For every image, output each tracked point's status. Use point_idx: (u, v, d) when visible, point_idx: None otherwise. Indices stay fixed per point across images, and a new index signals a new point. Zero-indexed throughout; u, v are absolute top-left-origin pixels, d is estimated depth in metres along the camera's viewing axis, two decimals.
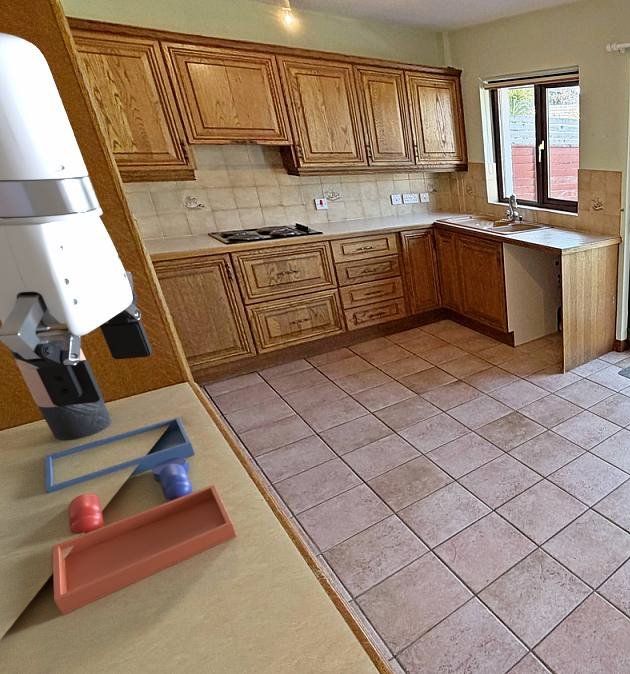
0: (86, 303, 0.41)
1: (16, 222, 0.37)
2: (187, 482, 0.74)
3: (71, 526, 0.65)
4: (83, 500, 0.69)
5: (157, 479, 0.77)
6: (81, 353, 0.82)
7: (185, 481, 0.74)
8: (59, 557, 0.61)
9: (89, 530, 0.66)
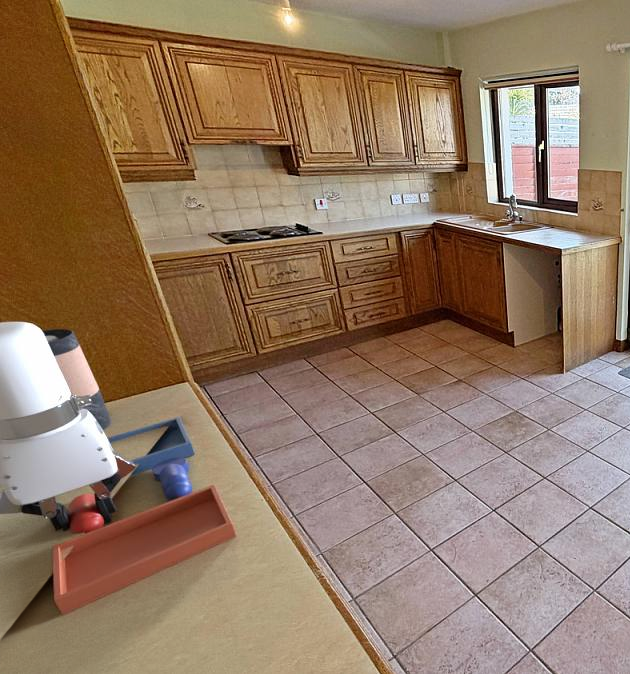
0: (27, 488, 0.61)
1: None
2: (187, 482, 0.74)
3: (71, 526, 0.65)
4: (83, 500, 0.69)
5: (157, 479, 0.77)
6: (81, 353, 0.82)
7: (185, 481, 0.74)
8: (59, 557, 0.61)
9: (89, 530, 0.66)
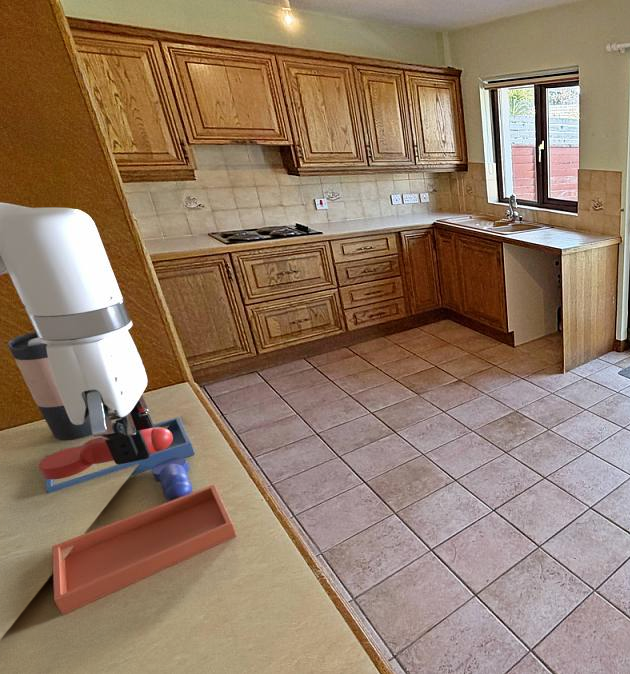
0: (127, 392, 0.56)
1: (80, 341, 0.52)
2: (187, 482, 0.74)
3: (153, 438, 0.60)
4: None
5: (157, 479, 0.77)
6: None
7: (185, 481, 0.74)
8: (59, 557, 0.61)
9: (171, 434, 0.62)
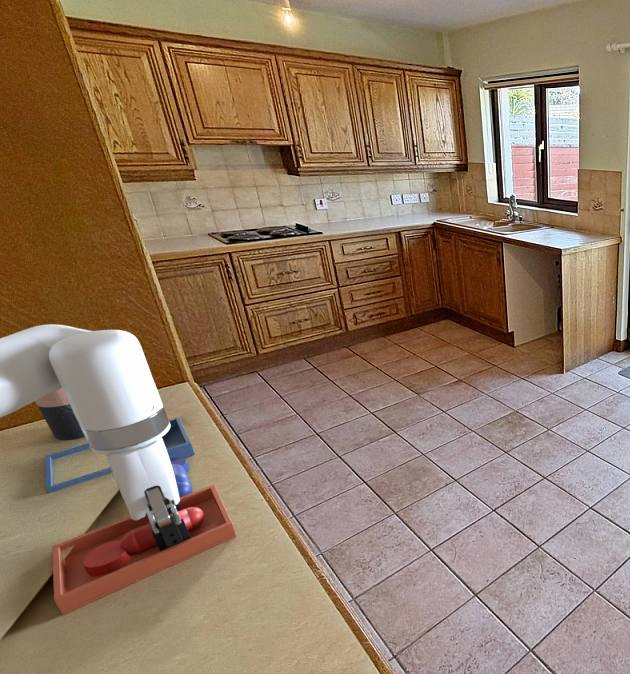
0: (175, 482, 0.63)
1: (139, 446, 0.58)
2: (187, 482, 0.74)
3: (191, 518, 0.67)
4: (144, 525, 0.64)
5: None
6: None
7: (185, 481, 0.74)
8: (59, 557, 0.61)
9: (202, 511, 0.69)
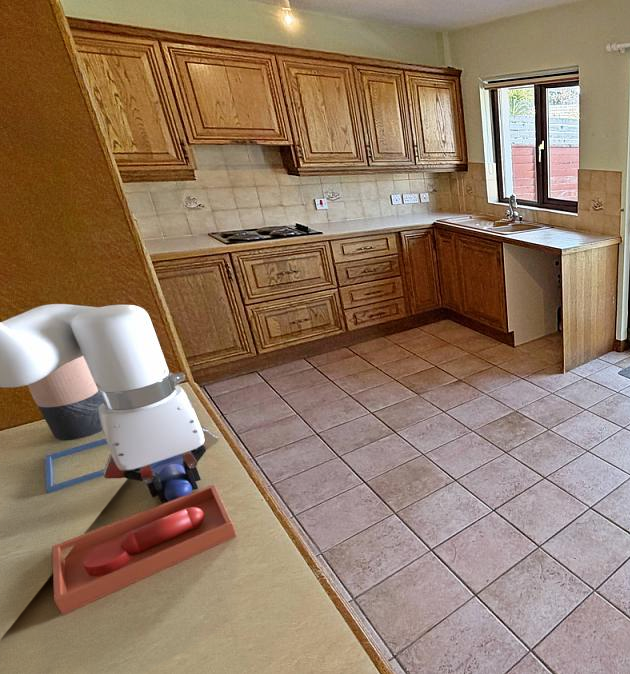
0: (132, 455, 0.68)
1: (106, 408, 0.65)
2: (187, 482, 0.74)
3: (191, 518, 0.67)
4: (144, 525, 0.64)
5: None
6: None
7: (185, 481, 0.74)
8: (59, 557, 0.61)
9: (202, 511, 0.69)
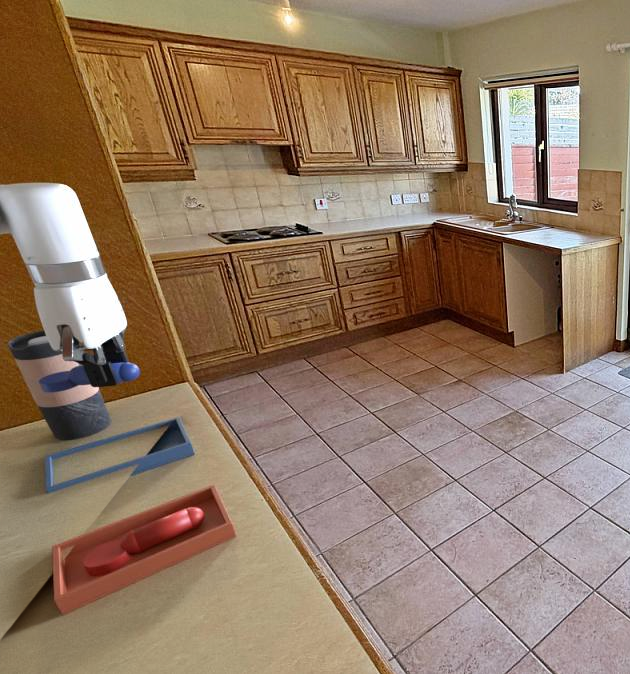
0: (95, 330, 0.71)
1: (57, 286, 0.67)
2: None
3: (191, 518, 0.67)
4: (144, 525, 0.64)
5: (62, 388, 0.74)
6: None
7: None
8: (59, 557, 0.61)
9: (202, 511, 0.69)
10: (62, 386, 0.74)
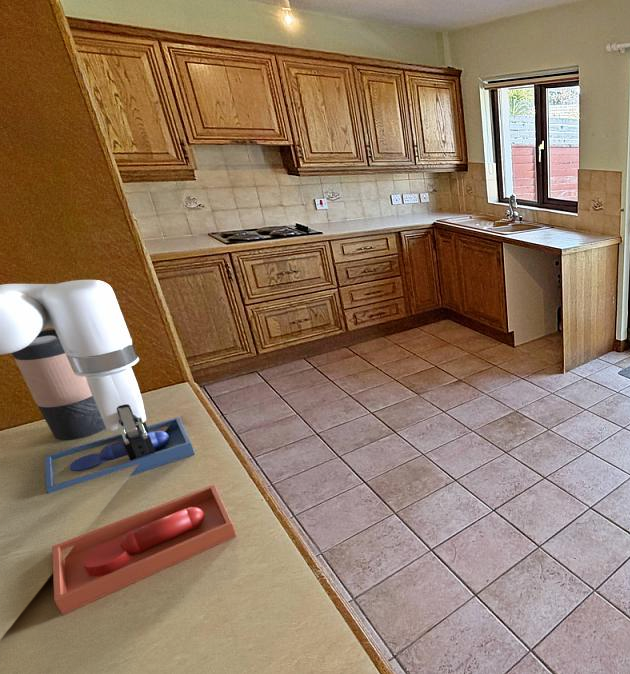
0: (143, 405, 0.78)
1: (113, 371, 0.74)
2: None
3: (191, 518, 0.67)
4: (144, 525, 0.64)
5: None
6: None
7: None
8: (59, 557, 0.61)
9: (202, 511, 0.69)
10: None
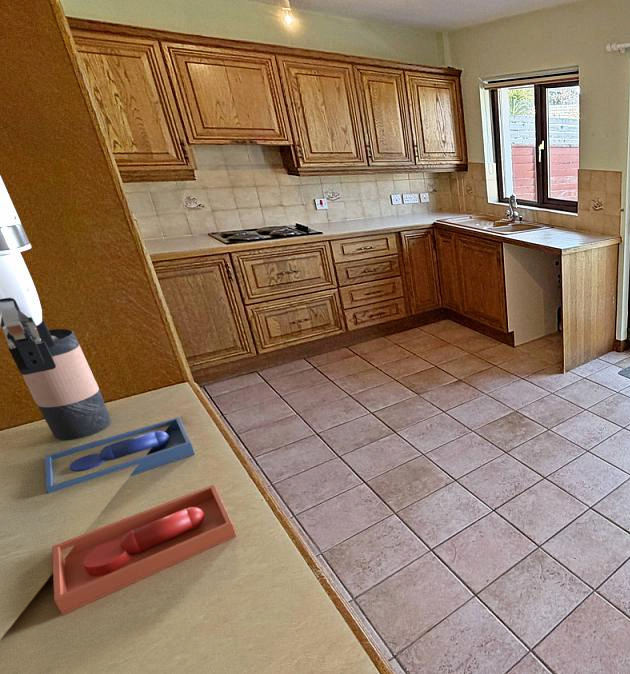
0: (36, 304, 0.64)
1: None
2: None
3: (191, 518, 0.67)
4: (144, 525, 0.64)
5: None
6: (81, 353, 0.82)
7: None
8: (59, 557, 0.61)
9: (202, 511, 0.69)
10: None
